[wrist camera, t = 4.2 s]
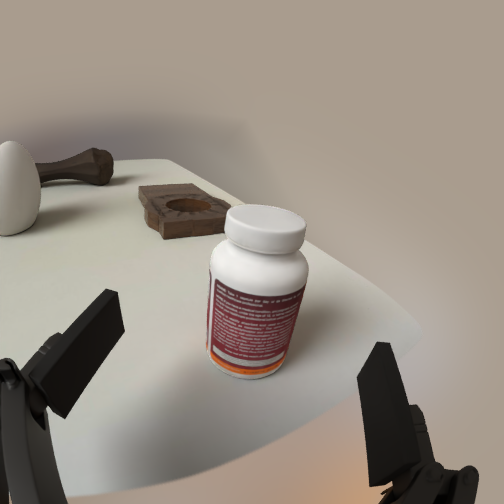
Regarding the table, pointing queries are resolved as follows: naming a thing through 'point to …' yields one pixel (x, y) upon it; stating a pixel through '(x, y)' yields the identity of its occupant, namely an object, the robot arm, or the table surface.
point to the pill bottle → (255, 290)
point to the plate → (182, 210)
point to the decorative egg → (17, 189)
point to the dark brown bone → (80, 168)
